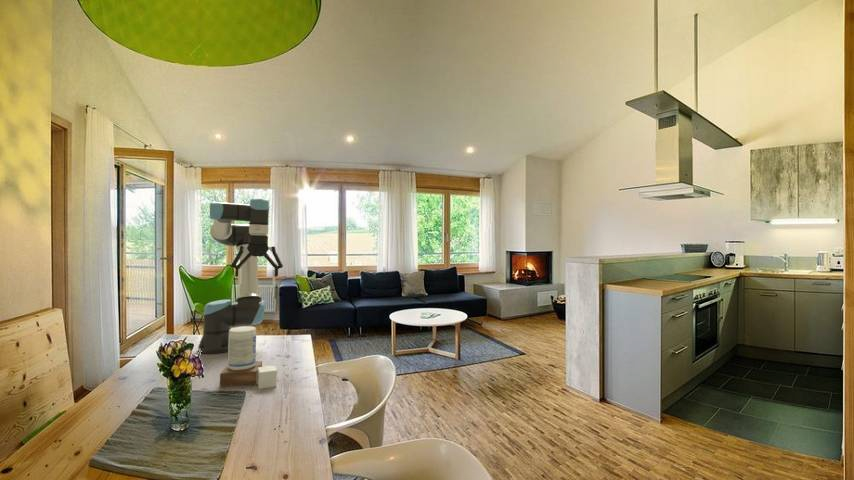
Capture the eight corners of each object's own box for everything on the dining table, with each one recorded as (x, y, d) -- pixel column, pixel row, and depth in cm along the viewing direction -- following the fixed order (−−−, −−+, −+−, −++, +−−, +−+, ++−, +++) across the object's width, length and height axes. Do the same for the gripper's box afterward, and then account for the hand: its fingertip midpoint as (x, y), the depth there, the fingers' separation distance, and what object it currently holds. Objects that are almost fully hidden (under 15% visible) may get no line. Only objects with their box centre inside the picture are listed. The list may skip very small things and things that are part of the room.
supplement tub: (259, 367, 142) (260, 329, 142) (232, 373, 136) (233, 333, 136) (250, 361, 149) (251, 324, 149) (224, 366, 143) (225, 328, 143)
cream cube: (257, 383, 140) (258, 367, 140) (274, 380, 143) (275, 365, 143) (258, 389, 135) (259, 372, 135) (276, 386, 138) (276, 370, 138)
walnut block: (229, 375, 147) (229, 362, 147) (261, 373, 150) (262, 361, 150) (219, 387, 135) (220, 373, 135) (255, 385, 138) (255, 371, 138)
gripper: (223, 233, 153) (222, 285, 153) (288, 235, 159) (286, 285, 158) (229, 233, 160) (227, 283, 160) (290, 235, 166) (288, 283, 166)
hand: (256, 284), depth 159 cm, fingers open, 13 cm apart
